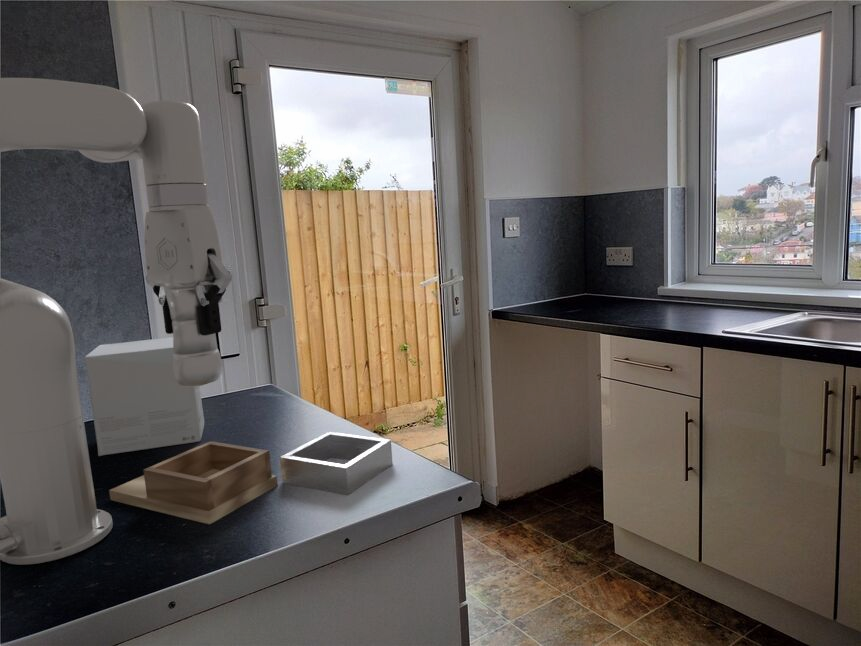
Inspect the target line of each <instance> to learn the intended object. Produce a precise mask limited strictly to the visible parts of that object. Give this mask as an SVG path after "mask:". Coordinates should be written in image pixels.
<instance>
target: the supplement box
mask: <svg viewBox="0 0 861 646" xmlns="http://www.w3.org/2000/svg"><path fill="white" fill-rule="evenodd" d="M173 354H174V350H173V336H172V337H164V338H163V337H162V338H154V339H153V338H152V339H144V340H143V339H142V340H135V341H134V340H133V341H126V342H119V343H118V342H117V343H108V344H107V343H105V344H100V345H98V346H97V347H96V348H94V349H93V350H92V351H90V352H89V353H88V354H87V355H85V356H84V363H85V369H86V376H87V381H88V382H87V383H88V389H89V396H90V404H91V409H92V417H93V422H94V423H93V424H94V425H93V426H94V430H95V440H96V445H97V446H96V447H97V454H98V455H97V456H98V457H101V456H106V455H114V454H120V453H122V454H123V453H127V452H135V451H140V450H149V449H156V448H162V447H169V446H177V445H184V444H191V443H197V442H201V441H202V436H203V433H204V429H205V428H204V427H205V417H204V416H205V415H204V409H203V403H202V397H201V396H202V394H201V386H183V385H180V384H179V383H178V382H177V381H176V380H175V378H174V374H173V371H172V360H173Z"/></svg>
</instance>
